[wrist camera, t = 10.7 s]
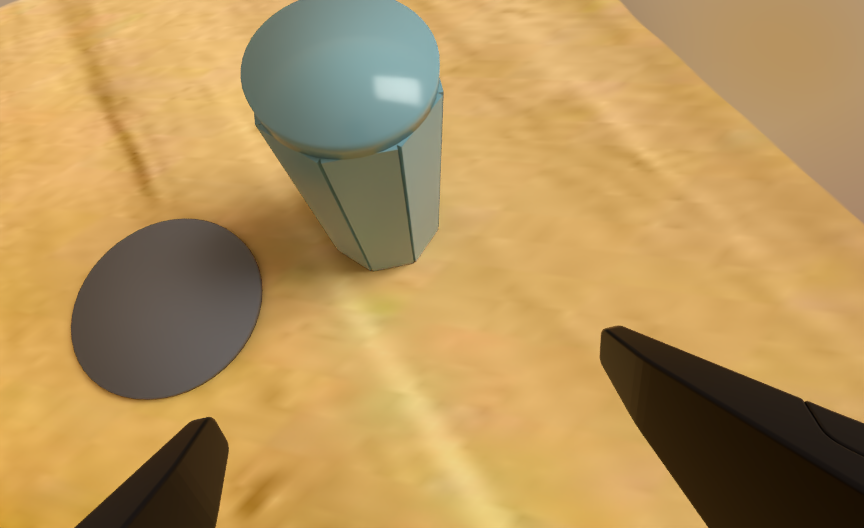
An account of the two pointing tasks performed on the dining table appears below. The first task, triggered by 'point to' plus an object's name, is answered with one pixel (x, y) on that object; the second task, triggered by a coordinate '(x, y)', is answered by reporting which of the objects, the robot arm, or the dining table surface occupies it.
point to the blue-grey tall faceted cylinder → (354, 120)
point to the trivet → (166, 309)
